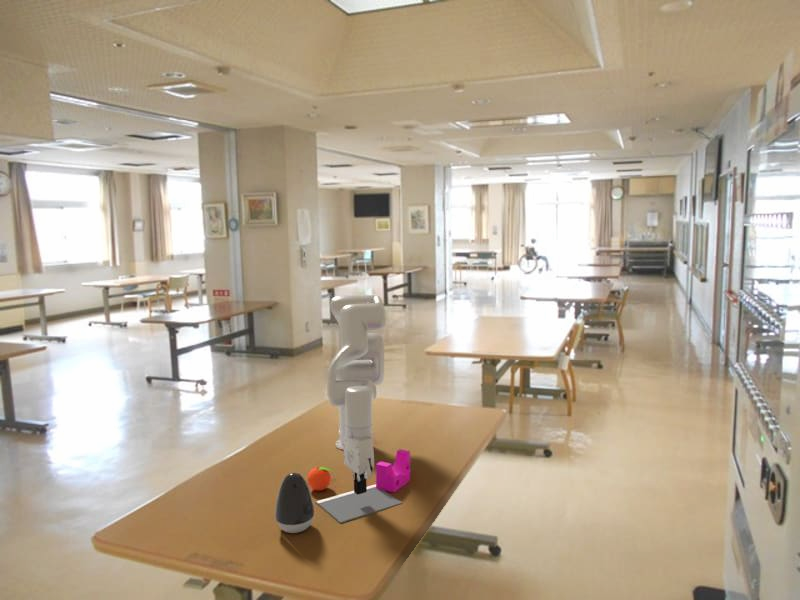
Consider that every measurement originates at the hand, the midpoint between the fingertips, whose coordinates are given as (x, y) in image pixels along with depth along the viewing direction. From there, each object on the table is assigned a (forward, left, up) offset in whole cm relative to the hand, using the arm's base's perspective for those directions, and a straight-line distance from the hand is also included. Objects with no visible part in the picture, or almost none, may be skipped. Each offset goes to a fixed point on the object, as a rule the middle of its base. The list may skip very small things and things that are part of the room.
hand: (360, 492), depth 171 cm
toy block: (-7, +17, -4) cm, 19 cm away
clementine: (-16, -5, -4) cm, 17 cm away
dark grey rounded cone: (+2, -21, -4) cm, 21 cm away
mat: (-1, 0, -4) cm, 4 cm away
